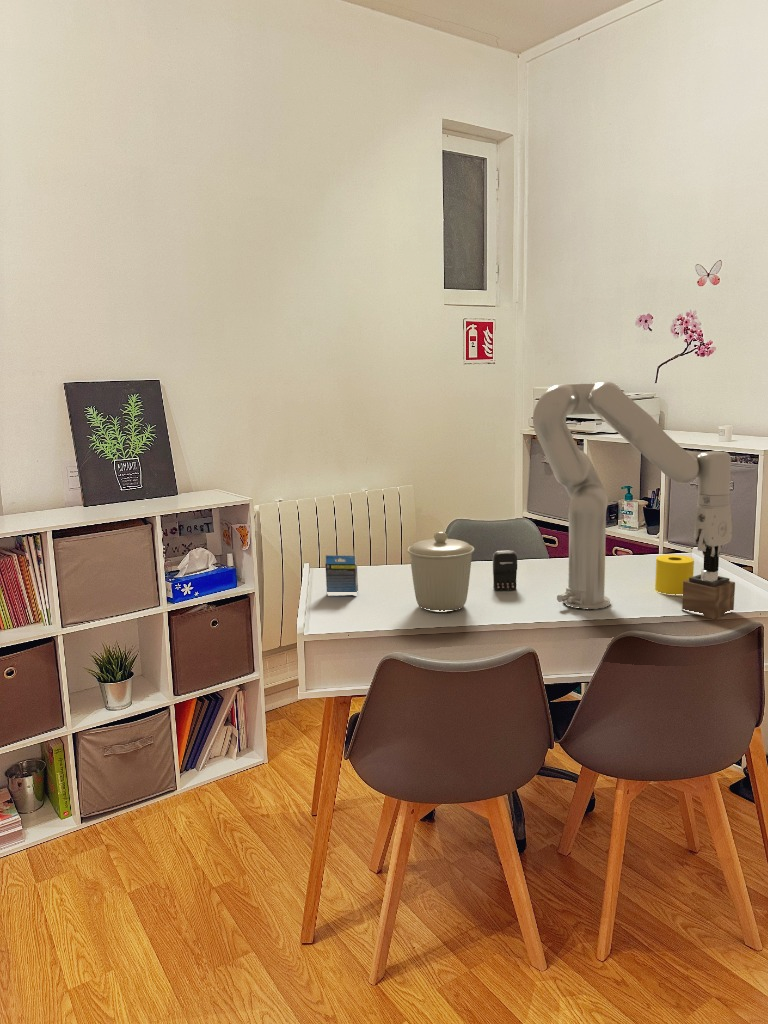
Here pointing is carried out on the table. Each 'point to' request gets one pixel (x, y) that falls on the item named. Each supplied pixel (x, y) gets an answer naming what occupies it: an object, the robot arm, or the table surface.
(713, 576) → the peg
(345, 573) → the label tape box
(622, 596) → the table surface
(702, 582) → the socket block
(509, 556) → the battery charger
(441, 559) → the canister
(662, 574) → the tape roll
